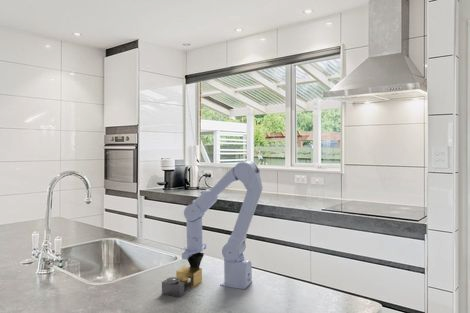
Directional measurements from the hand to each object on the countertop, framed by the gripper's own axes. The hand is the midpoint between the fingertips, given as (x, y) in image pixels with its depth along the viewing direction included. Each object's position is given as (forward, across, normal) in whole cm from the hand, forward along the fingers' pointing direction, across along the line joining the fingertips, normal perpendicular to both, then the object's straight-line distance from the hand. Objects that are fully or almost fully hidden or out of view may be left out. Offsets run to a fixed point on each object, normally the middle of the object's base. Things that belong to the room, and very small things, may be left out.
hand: (194, 273), depth 135 cm
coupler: (+2, +12, 0) cm, 12 cm away
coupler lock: (+2, +4, 0) cm, 5 cm away
